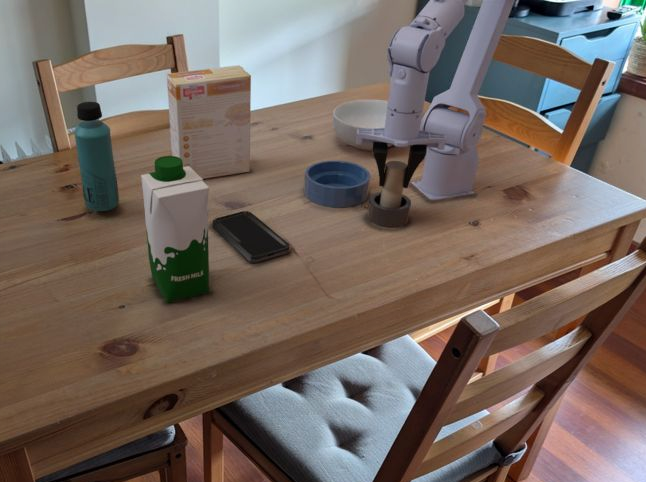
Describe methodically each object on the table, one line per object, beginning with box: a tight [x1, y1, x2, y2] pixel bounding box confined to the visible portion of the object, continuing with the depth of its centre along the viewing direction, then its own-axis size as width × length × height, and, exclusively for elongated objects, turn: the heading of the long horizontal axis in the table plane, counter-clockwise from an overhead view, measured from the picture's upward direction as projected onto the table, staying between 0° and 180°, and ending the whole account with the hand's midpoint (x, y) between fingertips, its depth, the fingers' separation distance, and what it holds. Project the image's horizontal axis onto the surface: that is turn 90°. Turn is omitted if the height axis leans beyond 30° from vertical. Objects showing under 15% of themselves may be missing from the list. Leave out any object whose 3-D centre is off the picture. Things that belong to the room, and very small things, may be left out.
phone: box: [212, 210, 290, 264], centre depth 120 cm, size 8×1×15 cm
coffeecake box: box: [166, 64, 252, 180], centre depth 136 cm, size 15×7×20 cm, turn 108°
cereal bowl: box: [332, 99, 393, 152], centre depth 150 cm, size 17×17×7 cm
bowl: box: [303, 160, 372, 208], centre depth 131 cm, size 12×12×4 cm
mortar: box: [367, 191, 412, 229], centre depth 124 cm, size 7×7×4 cm
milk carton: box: [140, 155, 210, 304], centre depth 102 cm, size 9×9×20 cm
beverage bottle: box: [73, 101, 120, 212], centre depth 122 cm, size 6×7×20 cm
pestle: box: [380, 160, 407, 208], centre depth 121 cm, size 4×4×8 cm
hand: (393, 184), depth 120 cm, fingers closed on pestle, 3 cm apart
